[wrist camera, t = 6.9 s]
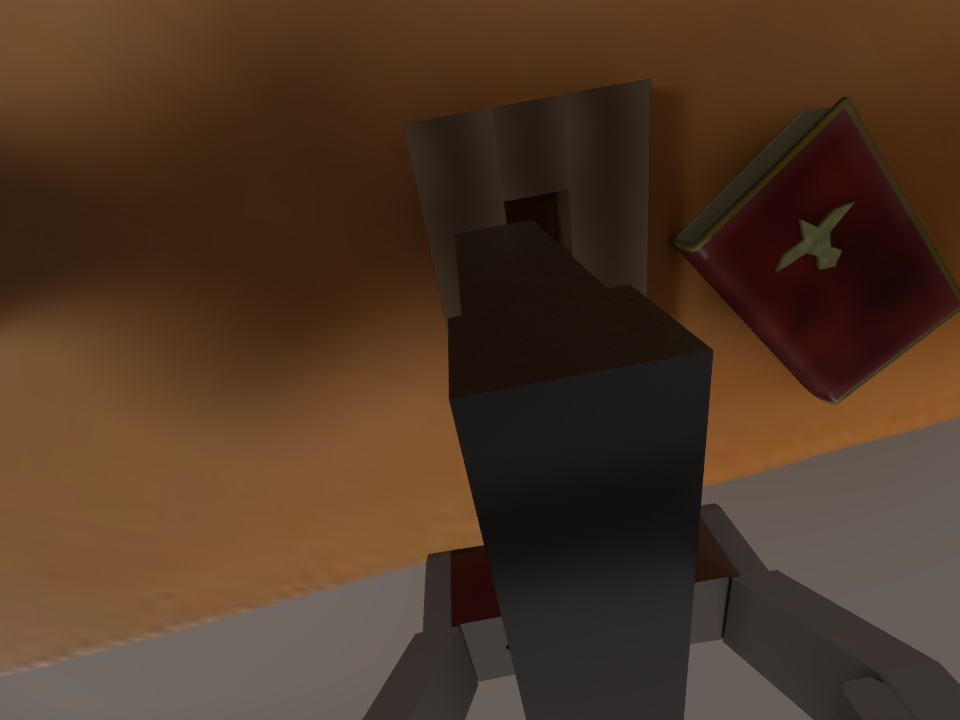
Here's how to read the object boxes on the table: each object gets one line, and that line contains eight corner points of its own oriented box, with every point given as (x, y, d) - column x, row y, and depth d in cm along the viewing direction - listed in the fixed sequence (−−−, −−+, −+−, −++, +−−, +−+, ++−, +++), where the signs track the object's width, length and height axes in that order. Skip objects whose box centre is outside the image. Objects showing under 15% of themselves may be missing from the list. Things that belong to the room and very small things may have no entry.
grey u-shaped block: (497, 482, 19) (547, 805, 10) (447, 228, 14) (448, 399, 5) (565, 469, 19) (678, 783, 10) (537, 211, 14) (713, 350, 5)
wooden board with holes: (467, 409, 38) (471, 438, 34) (406, 125, 28) (402, 124, 24) (625, 378, 38) (645, 403, 35) (622, 85, 28) (650, 78, 24)
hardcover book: (797, 384, 41) (834, 409, 37) (663, 239, 33) (692, 252, 30) (918, 288, 38) (972, 305, 34) (799, 101, 30) (851, 96, 26)
